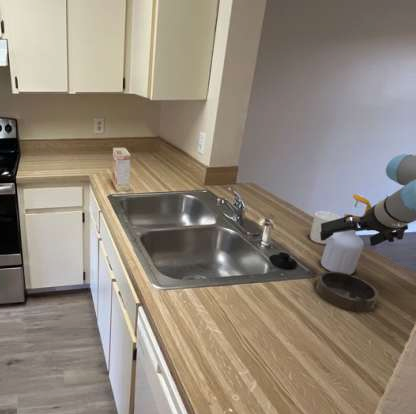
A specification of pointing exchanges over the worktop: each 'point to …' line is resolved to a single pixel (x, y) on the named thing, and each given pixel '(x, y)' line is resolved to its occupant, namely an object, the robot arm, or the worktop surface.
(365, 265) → the worktop surface
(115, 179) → the coffeecake box
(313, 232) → the white cup
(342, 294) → the holder
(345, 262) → the soap bottle
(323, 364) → the worktop surface
